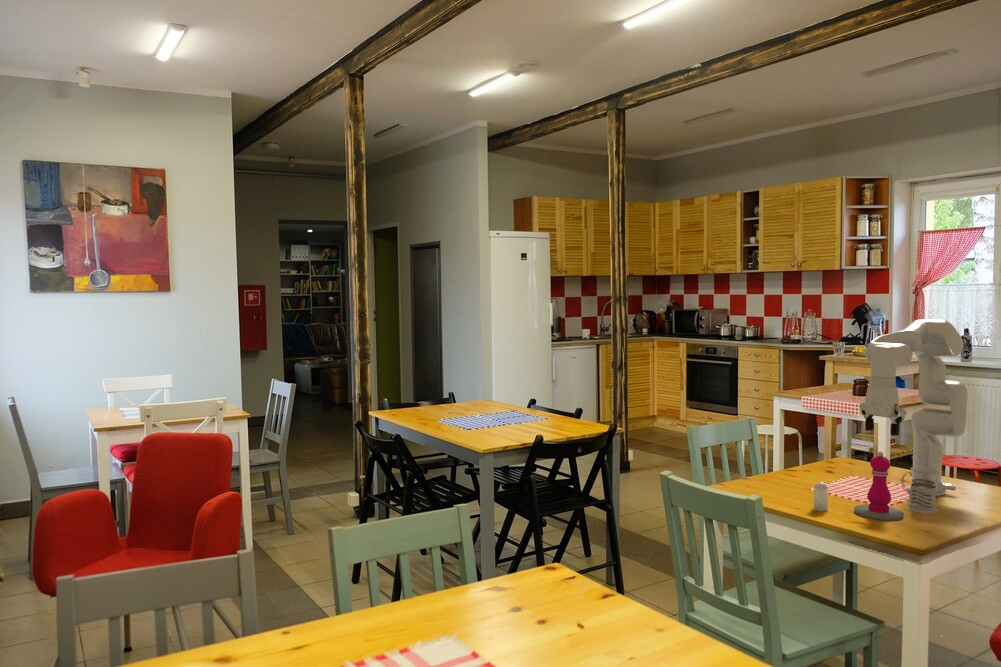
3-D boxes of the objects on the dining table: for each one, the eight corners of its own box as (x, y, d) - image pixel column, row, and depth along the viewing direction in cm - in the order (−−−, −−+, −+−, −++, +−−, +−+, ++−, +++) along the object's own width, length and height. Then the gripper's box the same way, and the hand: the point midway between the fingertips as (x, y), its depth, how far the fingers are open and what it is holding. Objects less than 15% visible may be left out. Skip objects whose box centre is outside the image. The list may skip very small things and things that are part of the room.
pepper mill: (893, 510, 258) (895, 451, 257) (886, 514, 253) (888, 454, 252) (871, 506, 263) (872, 448, 262) (863, 510, 258) (865, 451, 257)
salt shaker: (827, 508, 264) (828, 481, 264) (827, 512, 260) (828, 484, 260) (813, 507, 266) (814, 480, 265) (813, 510, 262) (814, 482, 261)
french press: (934, 514, 258) (937, 441, 256) (897, 508, 266) (899, 436, 264) (941, 509, 265) (944, 437, 264) (905, 502, 273) (907, 433, 272)
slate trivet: (902, 511, 262) (902, 507, 262) (904, 522, 248) (905, 519, 248) (854, 505, 268) (854, 502, 268) (853, 516, 254) (854, 513, 254)
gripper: (853, 379, 262) (852, 429, 263) (898, 385, 247) (897, 438, 248) (868, 378, 265) (867, 427, 266) (914, 384, 250) (912, 436, 251)
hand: (881, 432), depth 257 cm, fingers open, 9 cm apart
